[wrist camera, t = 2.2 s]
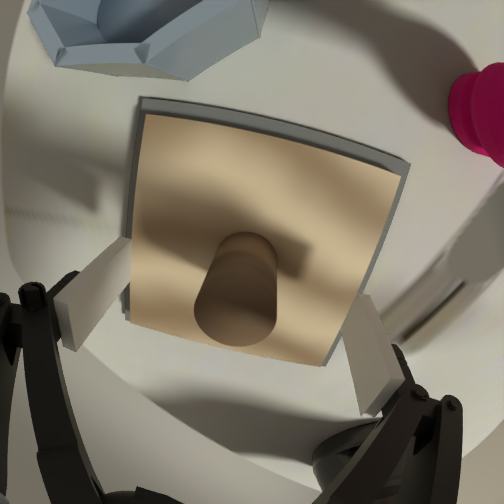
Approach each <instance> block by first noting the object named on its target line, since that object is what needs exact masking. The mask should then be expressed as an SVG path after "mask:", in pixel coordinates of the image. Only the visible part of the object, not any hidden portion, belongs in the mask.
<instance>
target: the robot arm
mask: <svg viewBox="0 0 504 504" xmlns="http://www.w3.org/2000/svg"><path fill="white" fill-rule="evenodd" d="M131 254H132V239H129V238H125V237H119V238H118V239H117V240H116V241H115V242H114V243H112V244H111V245H110V246H109V247H108V248H107V249H105V250H104V251H103V252H102V253H101V254H100V255H99V256H98V257H96V258H95V259H94V260H93V261H92V262H91V263H90V264H89V265H88V266H87V267H85V268H84V269H83V270H82V271H81V272H79V271H76V270H75V271H73V272H70V273H68V274H66V275H65V276H64V277H63V278H62V279H61V281H59V282H58V283H57V284H56V285H54V286H53V287H52V288H51V289H50V290H49V291H48V292H47V293H46V290H45V287H44V285H43V284H41V283H39V282H29V283H26V284H24V285H22V286H21V287H20V288H19V291H18V294H19V299H20V303H21V305H20V304H13V303H11V301H10V298H9V296H8V295H7V294H6V293H0V504H10V502H9V501H8V499H7V498H6V489H7V453H8V434H9V421H10V412H11V403H12V395H13V388H14V383H15V377H16V371H17V366H18V361H19V356H20V352H21V348H23V357H24V370H25V378H26V387H27V393H28V400H29V407H30V412H31V418H32V422H33V428H34V432H35V437H36V441H37V445H38V452H37V461H38V465H39V468H40V472H41V475H42V478H43V482H44V484H45V487H46V491H47V493H48V496H49V499H50V502H51V504H183V503H181V502H179V501H177V500H175V499H173V498H171V497H169V496H167V495H164V494H160V493H157V492H154V491H150V490H147V489H144V488H141V487H138V486H137V487H136V491H116V492H111V493H107V494H105V493H104V490H103V488H102V486H101V484H100V482H99V480H98V478H97V476H96V474H95V472H94V470H93V467H92V465H91V462H90V460H89V457H88V454H87V452H86V449H85V447H84V444H83V441H82V438H81V435H80V432H79V429H78V426H77V423H76V420H75V417H74V413H73V410H72V406H71V403H70V399H69V396H68V392H67V387H66V383H65V379H64V375H63V371H62V366H61V361H60V356H59V352H58V346H57V342H58V341H59V339H60V338H61V339H62V344H63V347H66V348H68V349H70V350H73V351H75V352H77V351H78V349H79V348H80V346H81V345H82V344H83V342H84V341H85V339H86V338H87V337H88V335H89V334H90V333H91V331H92V330H93V329H94V327H95V326H96V325H97V323H98V322H99V321H100V319H101V318H102V317H103V315H104V314H105V313H106V311H107V310H108V309H109V307H110V306H111V305H112V304H113V302H114V301H115V300H116V298H117V297H118V296H119V295H120V293H121V292H122V291H123V289H124V288H125V287H126V286H127V284H128V283H129V282H130V281H131ZM341 333H342V337H343V341H344V345H345V349H346V353H347V357H348V361H349V365H350V370H351V374H352V378H353V383H354V387H355V392H356V396H357V401H358V406H359V410H360V415H361V417H375V416H376V415H377V414H378V413H379V412H380V411H382V415H383V417H382V418H381V419H380V420H379V421H378V422H377V423H372V424H368V425H364V426H360V427H357V428H353V429H351V430H348V431H345V432H343V433H340V434H338V435H336V436H334V437H332V438H330V439H328V440H327V441H325V442H324V443H322V444H321V445H320V446H319V447H318V448H317V449H316V450H315V451H314V453H313V456H312V460H313V471H314V474H315V476H316V479H317V481H318V483H319V485H320V487H321V489H322V493H321V494H320V495H319V497H318V498H317V499H316V500H315V501H314V502H313V503H312V504H456V503H457V496H458V489H459V480H460V470H461V458H462V437H463V408H462V404H461V403H460V401H459V400H458V399H457V398H456V397H454V396H452V395H445V396H444V397H443V398H442V399H441V400H440V401H439V400H435V399H432V398H429V394H428V392H427V391H426V389H424V388H423V387H422V386H420V385H418V384H415V381H414V379H413V376H412V374H411V371H410V369H409V367H408V366H407V362H406V360H405V357H404V355H403V353H402V351H401V350H400V349H399V347H398V346H397V345H396V344H391V343H390V340H389V338H388V336H387V333H386V331H385V329H384V326H383V324H382V322H381V320H380V317H379V315H378V313H377V311H376V308H375V306H374V304H373V302H372V300H371V298H370V295H366V294H361V293H358V294H357V296H356V298H355V300H354V303H353V305H352V307H351V309H350V311H349V313H348V315H347V318H346V320H345V322H344V324H343V326H342V328H341Z"/></svg>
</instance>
